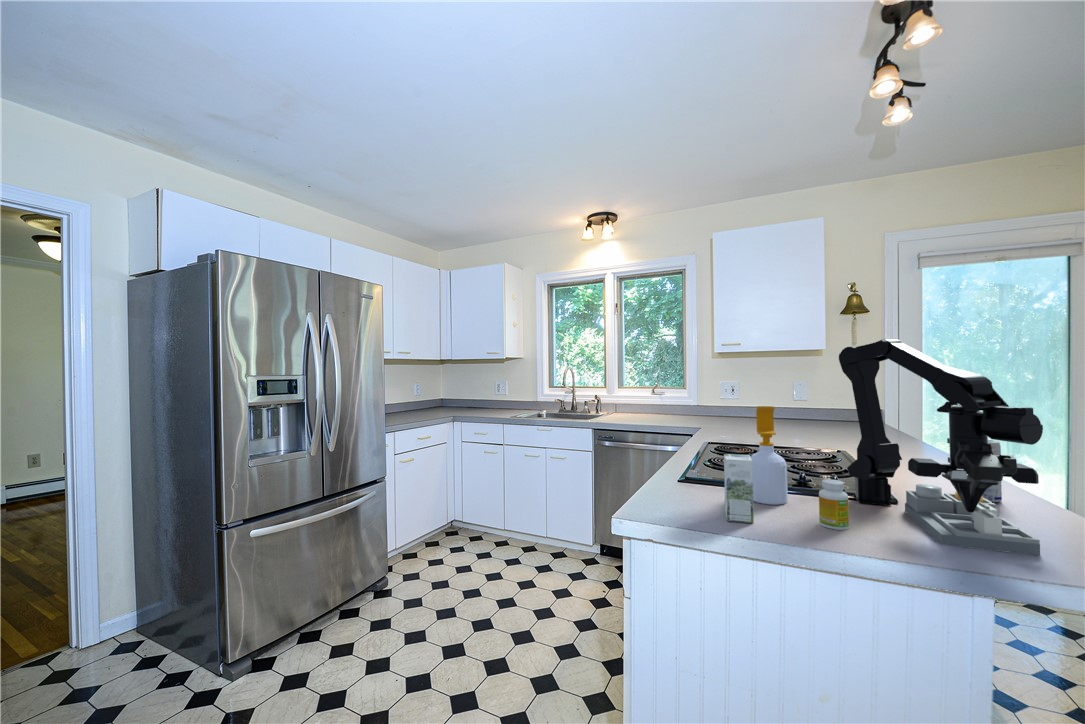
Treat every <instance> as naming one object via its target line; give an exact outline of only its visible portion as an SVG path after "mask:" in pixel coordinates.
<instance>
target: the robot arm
mask: <svg viewBox="0 0 1085 724" xmlns="http://www.w3.org/2000/svg"><path fill="white" fill-rule="evenodd" d="M887 360H889V361H891V362H894V363H895V364H897V365H898V366H901V367H902V368H904V369H906V370H908V371H909V372H911V373H913V374H914V375H915V376H918V377H920V378H922V379H923V380H926V381H927V382H928V383H929V384H930V385H931V386H932V388H933V389H934V391H935V392H936V393H937V394H939V395H940V396H941V397H942V398H944V399H945V400H946V402H945V403H944V404H943V405H941V406H940V407H938V408H936V411H937V412H938V413H946V414H948V432H949V433H948V435H949V437H948V438H947V439H946V440H947V441H946V443H947V444H948V445H949V457H947V463H939V462H937V461H935V460H934V459H932V458H923V457H922V458H920V457H919V458H918V457H917V458H916V457H911V458H910V459H909V460H908V461H907V468H908V469H907V470H908V471H909V472H911V473H912V474H914V475H915V476H918V477H925V478H938V477H939V476H941V477H943V478H944V479H946V480H948V481H949V482H950V483H951V485H952V486H953V488H954V489H955V492H957V493H958V495H959V497H960V499H961V501H962V503H963V505H964V507H965V509H966V511H968V512H972V513H973V512H974V510H975V508H976V506H977V504H978V502H979V500H980V498H981V497H982V495H983V493H984V492H985V491H986V489H987V488H989V487H991V486H992V485H998V484H999V483H998V482H999V481H1001V482H1002V481H1003V478H1004V477H1005V478H1011V479H1012V480H1013V481H1015V482H1016V483H1019V484H1034V485H1038V484H1039V483H1040V482H1039V474H1038V472H1037V470H1036V469H1034V468H1033V467H1030V466H1027V465H1024V464H1022V463H1019V462H1018V461H1017V458H1016V457H1015V456H1014V455H1010V454H1001V455H999V456H996V455H993V452H992V447H991V444H989V443H988V440H989V439H990V440H994V441H999V442H1000V441H1002V442H1008V443H1015V444H1023V445H1030V446H1031V445H1036V444H1037V443H1039V441H1040V440H1041V439H1042V436H1043V433H1044V432H1043V430H1044V427H1043V426H1044V425H1043V424H1042V423H1041V420H1040V418H1039V417H1038V416H1037V415H1035V413H1034V407H1030V406H1018V407H1016V406H1015V407H1014V406H1009V404H1007V402H1006V401H1005V400H1004V399H1003V397H1002V396H1000V394H999V393H998V392H997V391H996V390H995V389H994V387H993V382H992V381H991V379H989V378H988V377H986V376H984V375H981V374H978V373H975V372H973V371H972V372H971V371H969V370H965V369H960V368H955V367H952V366H948V365H947V364H944V363H942V362H940V361H939V360H936V359H934V358H932V357H931V356H929V355H926V354H925V353H923V352H921V351H919V350H917V349H915V348H913V347H911V346H909V345H907V344H905V343H904V342H903V341H902V340H899V339H897V338H894V339H892V338H890V339H880V340H878V341H875V342H871V343H868V344H864V345H863V344H862V345H858V346H847V347H844V348H843V349H842V350H841V351H840V352H839V354H838V362H839V365H840V367H841V370H842V373H844V375H845V376H846V377H847V379H848V380H849V381H850V383H851V388H852V391H853V397H854V403H855V409H856V413H857V419H858V424H859V429H860V436H861V438H860V441H859V442H858V446H857V448H856V459H855V460H854V461H853V462H852V463H851V464H849V465H848V466H847V472H848V475H849V477H853V478H854V482H855V483H854V486H855V487H854V488H855V489H854V490H855V491H854V494H855V495H856V498H855V499H856V501H857V502H858V503H860V504H868V505H880V506H892V503H891V502H892V486H891V484H890V483H889V478H894V477H895V473H896V471H897V470H898V469H899V468H900V466H901V461H902V460H903V458H902V456H901V453H900V445H899V443H898V442H891V440H890V439H889V438H888V437H887V435H886V431H885V424H884V419H883V414H882V410H881V405H880V399H879V394H878V390H877V389H878V388H877V384H876V378H877V375H878V373H879V370H880V366H881V365H880V362H883V361H887ZM1017 462H1018V463H1017ZM996 481H998V482H996Z"/></svg>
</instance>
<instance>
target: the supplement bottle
mask: <svg viewBox="0 0 1085 724" xmlns="http://www.w3.org/2000/svg"><path fill="white" fill-rule="evenodd" d="M821 482H822V483H821V487H822V488H821V490H820V489H819V492H818V511H819V512H818V515H819V516H818V517H819V518H818V519H819V524H820V525H821V526H822V527H824V528H827V529H830V530H837V531H845V530H847V529H849V528H850V527H849V526H850V516H849V513H850V512H849V511H850V510H849V508H850V507H849V495H848V494H847V492H845V491H844V489H845V483H844V482H843V480H838V479H828V478H825V479H822V480H821Z"/></svg>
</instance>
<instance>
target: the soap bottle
mask: <svg viewBox="0 0 1085 724" xmlns="http://www.w3.org/2000/svg"><path fill="white" fill-rule="evenodd" d="M775 408H776V407H775V406H773V405H772V406H768V405H767V406H765V405H764V406H763V405H762V406H761V405H760V406H759V405H758V406H757V407H756V411H755V413H756V416H755V417H756V433H757V434H758V435H759V436H760V438H762V441H760V442H759V445H758V446H759V447H758V449H759V451H757V452H755V453H753V454H752V455H750V457H751V460H752V462H753V502H755V503H758V504H762V505H769V506H781V505H784V504H787V503H788V501H789V500H788V499H789V498H788V497H789V496H788V465H787V462H786V460H785V458H783V457H782V456H781V455H779V454H777V453H776V452H775V449H774V446H775V445H774V443H773V442H772V441H771V438H773V436H775V435H776V432H775V426H774V422H775V420H774V418H775V417H774V414H775V413H774V410H775Z"/></svg>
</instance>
